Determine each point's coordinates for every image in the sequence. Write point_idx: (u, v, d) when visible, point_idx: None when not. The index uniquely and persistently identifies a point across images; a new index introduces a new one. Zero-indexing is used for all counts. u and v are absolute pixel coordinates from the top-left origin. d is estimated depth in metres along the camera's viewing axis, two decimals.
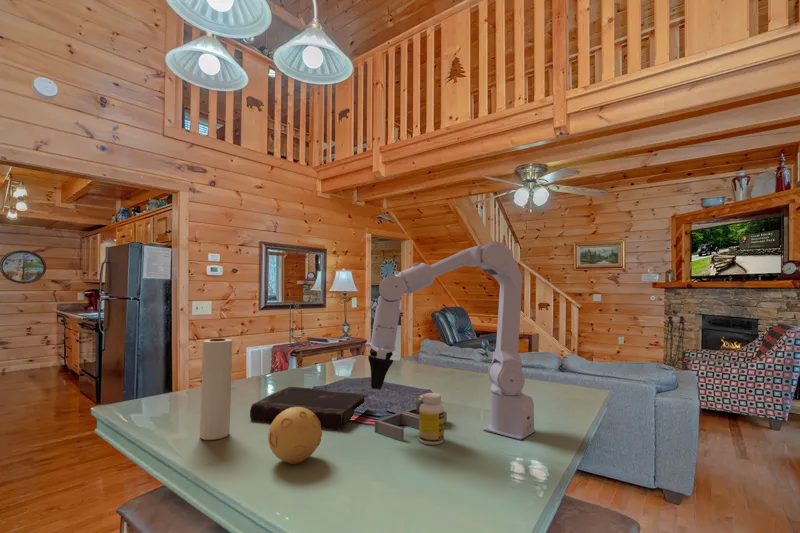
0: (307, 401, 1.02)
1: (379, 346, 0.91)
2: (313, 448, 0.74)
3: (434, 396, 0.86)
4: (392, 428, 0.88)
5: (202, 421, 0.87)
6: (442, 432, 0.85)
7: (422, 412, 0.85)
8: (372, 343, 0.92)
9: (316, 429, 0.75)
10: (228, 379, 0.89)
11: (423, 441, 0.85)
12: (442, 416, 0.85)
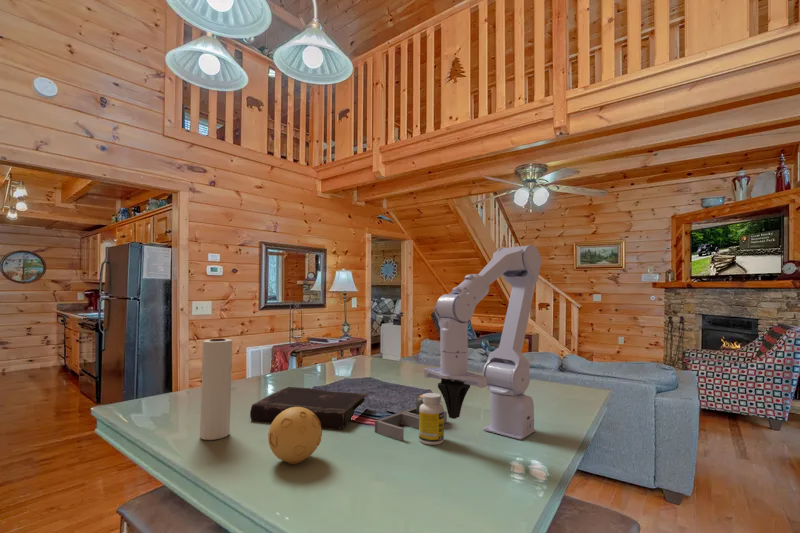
0: (307, 401, 1.02)
1: (463, 374, 0.81)
2: (313, 448, 0.74)
3: (434, 396, 0.86)
4: (392, 428, 0.88)
5: (202, 421, 0.87)
6: (442, 432, 0.85)
7: (422, 412, 0.85)
8: (453, 373, 0.81)
9: (316, 429, 0.75)
10: (228, 379, 0.89)
11: (423, 441, 0.85)
12: (442, 416, 0.85)
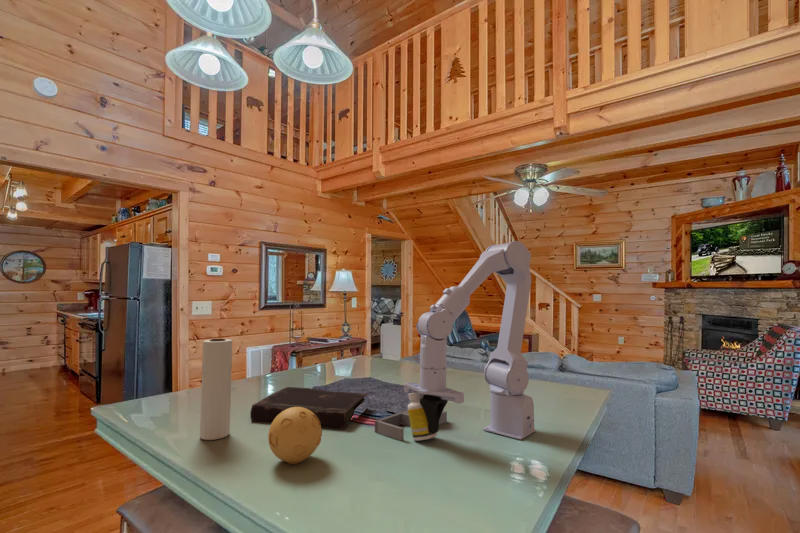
0: (308, 401, 1.02)
1: (441, 390, 0.84)
2: (313, 448, 0.74)
3: None
4: (392, 428, 0.88)
5: (202, 421, 0.87)
6: None
7: (409, 409, 0.87)
8: (431, 389, 0.84)
9: (316, 429, 0.75)
10: (228, 379, 0.89)
11: (416, 438, 0.85)
12: None
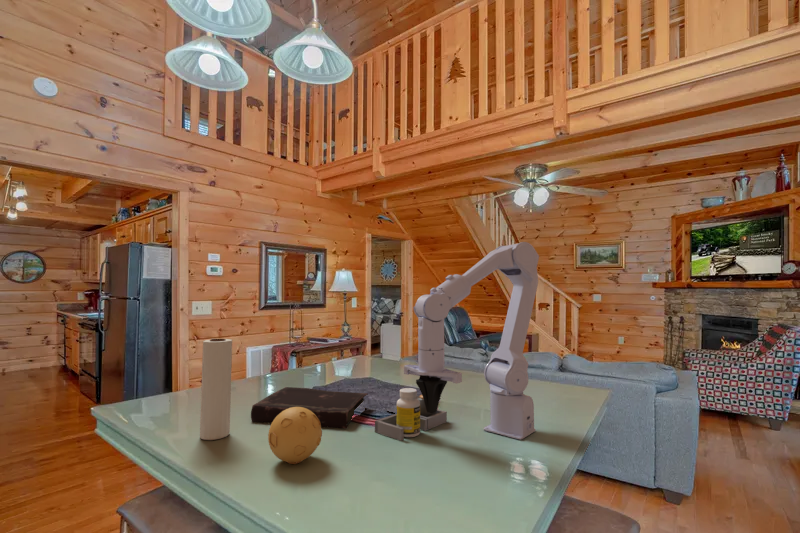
0: (308, 401, 1.02)
1: (440, 371, 0.85)
2: (313, 448, 0.74)
3: (410, 391, 0.90)
4: (392, 428, 0.88)
5: (202, 421, 0.87)
6: (418, 425, 0.89)
7: (398, 406, 0.90)
8: (430, 370, 0.85)
9: (316, 429, 0.75)
10: (228, 379, 0.89)
11: None
12: (417, 410, 0.89)
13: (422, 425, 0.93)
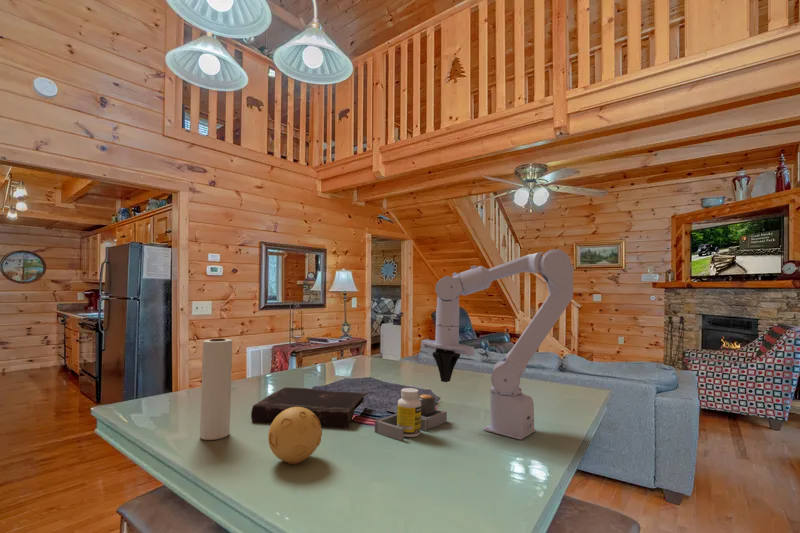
0: (309, 401, 1.02)
1: (454, 344, 0.96)
2: (313, 448, 0.74)
3: (412, 391, 0.90)
4: (392, 428, 0.88)
5: (202, 421, 0.87)
6: (418, 425, 0.89)
7: (399, 406, 0.90)
8: (446, 343, 0.95)
9: (316, 429, 0.75)
10: (228, 379, 0.89)
11: None
12: (419, 410, 0.89)
13: (422, 425, 0.93)
